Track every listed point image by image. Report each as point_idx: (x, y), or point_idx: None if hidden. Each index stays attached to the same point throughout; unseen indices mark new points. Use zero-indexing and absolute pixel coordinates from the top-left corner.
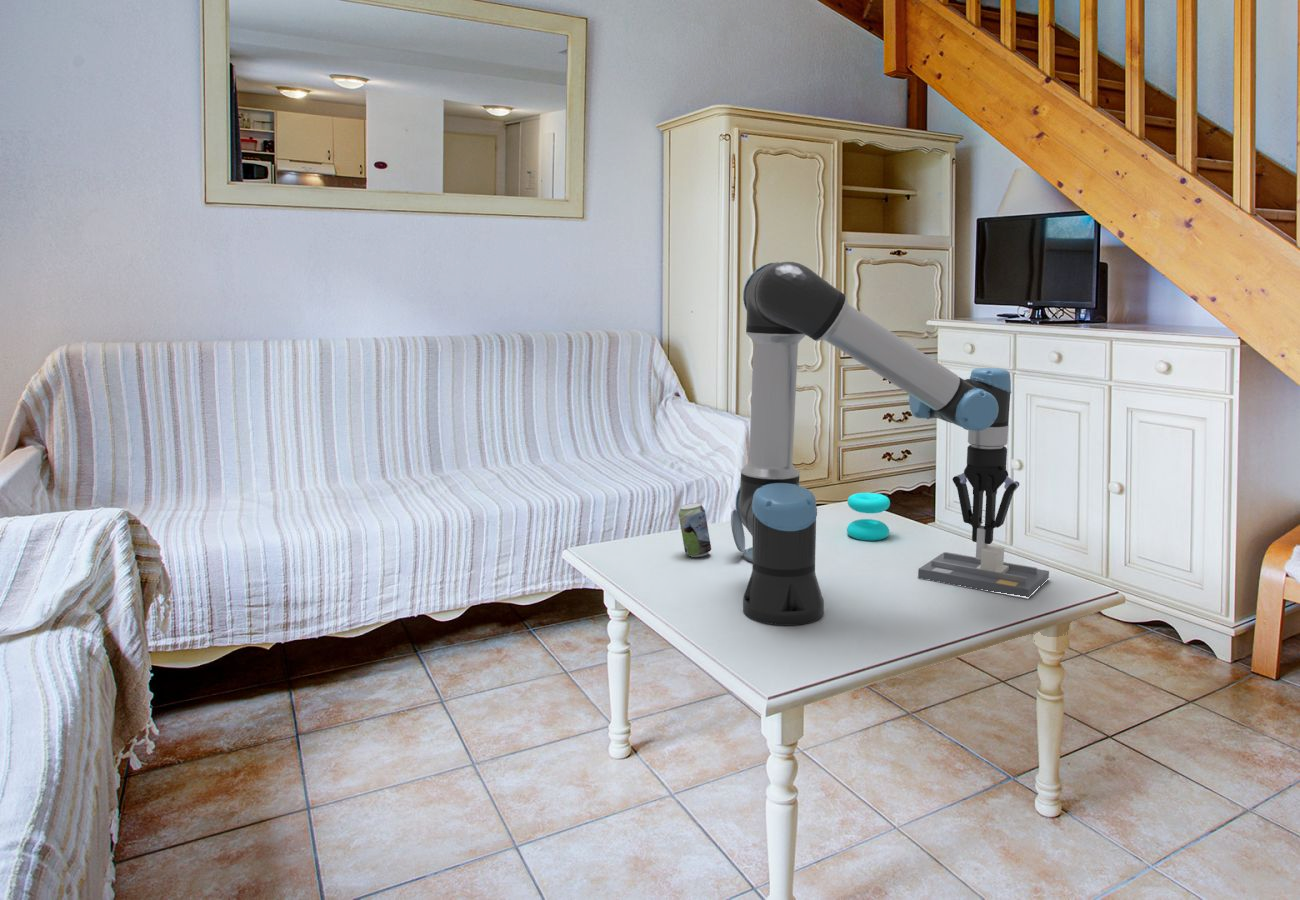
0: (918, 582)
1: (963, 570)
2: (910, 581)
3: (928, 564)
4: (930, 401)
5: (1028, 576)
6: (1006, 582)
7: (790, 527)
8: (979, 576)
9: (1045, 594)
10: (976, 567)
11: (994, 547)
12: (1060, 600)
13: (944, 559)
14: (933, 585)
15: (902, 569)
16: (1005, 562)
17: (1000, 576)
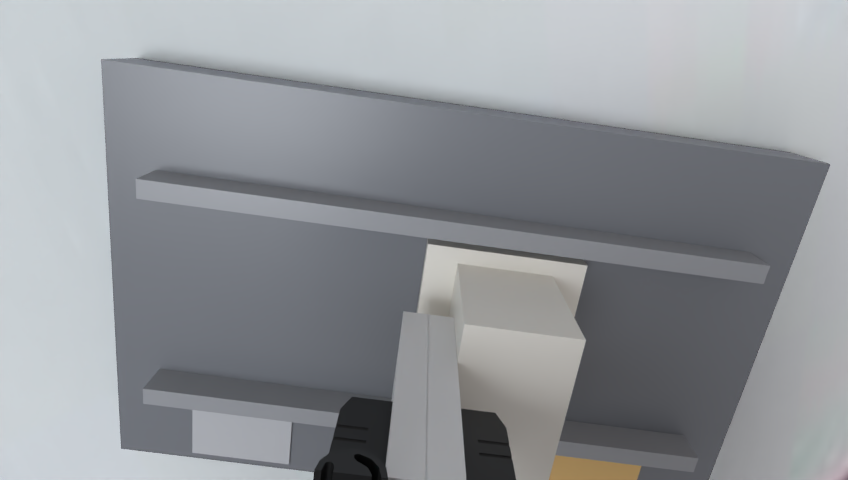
0: (175, 465)
1: None
2: (138, 468)
3: (132, 357)
4: None
5: (696, 326)
6: (585, 475)
7: None
8: None
9: (753, 383)
10: (393, 293)
11: (513, 385)
12: (816, 431)
13: (171, 219)
14: (249, 475)
15: (16, 319)
16: (564, 240)
17: None
